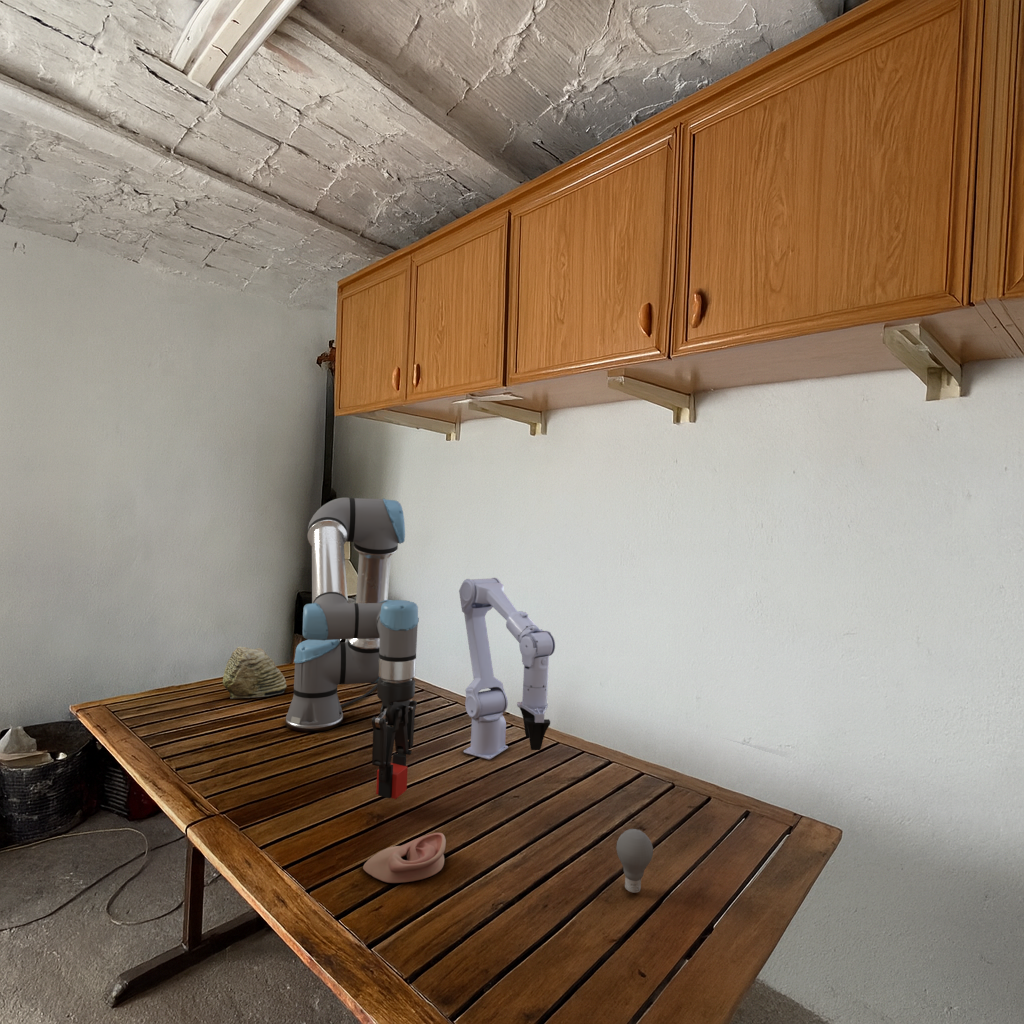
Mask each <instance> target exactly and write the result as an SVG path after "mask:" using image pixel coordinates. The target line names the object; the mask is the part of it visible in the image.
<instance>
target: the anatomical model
mask: <svg viewBox="0 0 1024 1024" xmlns="http://www.w3.org/2000/svg"><path fill="white" fill-rule="evenodd" d="M446 845H447V841H446V835H444V834H443V833H442V832H433V833H429V834H426V835H422V836H420V837H418V838H415V839H413V840H411V841H409V842H406V843H404V844H402V845H395V846H390V847H386V848H384V849H382V850H380V851H378V852H377V853H375V854H374V855H372V856H371V857H370V858H368V859H367V860H366V862H364V864H363V867H362V869H363V871H365V873H367V874H368V875H370V876H371V877H373V878H374V879H376V880H379V881H381V882H384V883H388V884H399V883H400V884H401V883H409V882H410V883H411V882H416V881H420V880H424V879H427V878H429V877H432V876H435V875H436V874H438V873H439V872H440V871H442V869H443V868H444V865H445V855H444V853H445V850H446Z"/></svg>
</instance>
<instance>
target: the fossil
mask: <svg viewBox="0 0 1024 1024" xmlns="http://www.w3.org/2000/svg"><path fill="white" fill-rule="evenodd" d="M222 676H223V677H222V685H223V687H224V688H225V690H226V691H228V693H229V698H230V699H250V698H264V697H271V696H275V695H281V694H284V693H285V691H286V689H287V687H288V686H287V680H286V678H285V676H284V674H283V673H282V672H281V669H279V668H278V667H277V665H276V663H275V662H274V660H273V659H272V658H271V657H270V656H269V655H268V654H267V653H266V652H265V650H264V649H263V648H260V647H258V648H251V647H247V646H246V647H245V646H238V647H237V648H236V649H235V650H233V651H232V653H231V656H230V657H229V659H228V660H227V663H226V666H225V668H224V671H223V675H222Z"/></svg>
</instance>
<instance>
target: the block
mask: <svg viewBox="0 0 1024 1024" xmlns="http://www.w3.org/2000/svg"><path fill="white" fill-rule="evenodd" d="M391 765H393V779H392V797H391V798H390V799H394V800H397V799H398V798H399V797H400V796H401V795H402V794H404V793H406V791H407V790H408V770H409V767H408V766H407V765H406V766H403V765H398V764H394V763H393V762H391ZM378 788H379V768H378V769H377V770H376V787H375V789H376V790H375V794H376V795H378Z"/></svg>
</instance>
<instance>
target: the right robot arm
mask: <svg viewBox="0 0 1024 1024" xmlns="http://www.w3.org/2000/svg"><path fill="white" fill-rule="evenodd" d="M462 581H463V582H462V583H461V585H460V588H459V590H458V593H459V599H460V607H461V612H462V613H463V614H464V621H465V629H466V636H467V643H468V649H469V657H470V663H471V669H472V670H471V671H472V677H473V680H472V681H471V682H470V683H469V684H468V685H467V687H466V688H465V702H464V708H465V712H466V713H467V715H468V717H469V718H471V725H470V728H471V729H470V746H469V747H467V748H466V749H464V750H463V753H464V754H467V755H471V756H475V757H478V758H481V759H484V760H492V759H493V758H495V757H497V756H498V755H500V754H501V753H503V752H504V751H506V750H507V749H509V746H508V745H506V736H507V722H506V718H505V716H504V715H503V714H504V713H505V712H506V711H507V709H508V705H509V700H508V696H507V693H506V691H505V688H504V684H503V682H502V681H501V680H499V679H498V678H496V677H495V675H494V668H493V661H492V654H491V649H490V648H491V647H490V641H489V636H488V628H487V622H486V616H487V613H488V612H489V611H491V610H492V609H494V610H495V611H496V612H497V613H498V614H499V615H500V616H501V617H502V618H503V619H504V620H505V621H506V622H505V627H506V630H508V632H509V633H510V634H511V635H512V637H513V638H514V639H515V640H516V641H517V642H518V645H519V647H518V648H519V651H520V654H521V663H522V665H523V676H522V677H523V678H522V679H523V680H522V700H521V701H517V703H516V706H517V708H519V709H520V712H521V716H522V721H523V728H524V733H525V738H528V739H529V746H530V750H531V751H541V749H542V746H543V741H544V738H545V735H546V732H547V731H548V728H549V727H550V726H551V720H550V719H547V718H545V713H546V712H547V710H548V708H549V703H548V691H549V690H548V689H549V669H550V667H549V665H550V656H552V655H553V654H554V653H555V649H556V641H555V638H554V636H553V635H552V633H551V632H550V631H549V630H543V628H541V629H540V628H539V626H538V625H537V624H536V623H535V622H534V620H532V619H531V618H530V617H529V614H528V613H527V612H526V611H523V610H517V608H516V607H515V606H514V604H513V603H512V602H511V600H510V599H509V598H508V596H507V595H506V594H505V587H504V584H503V583H502V582H501V581H500V579H499V578H497V577H490V578H466V579H464V580H462ZM486 689H488V690H486ZM482 690H483V691H482Z"/></svg>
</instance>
